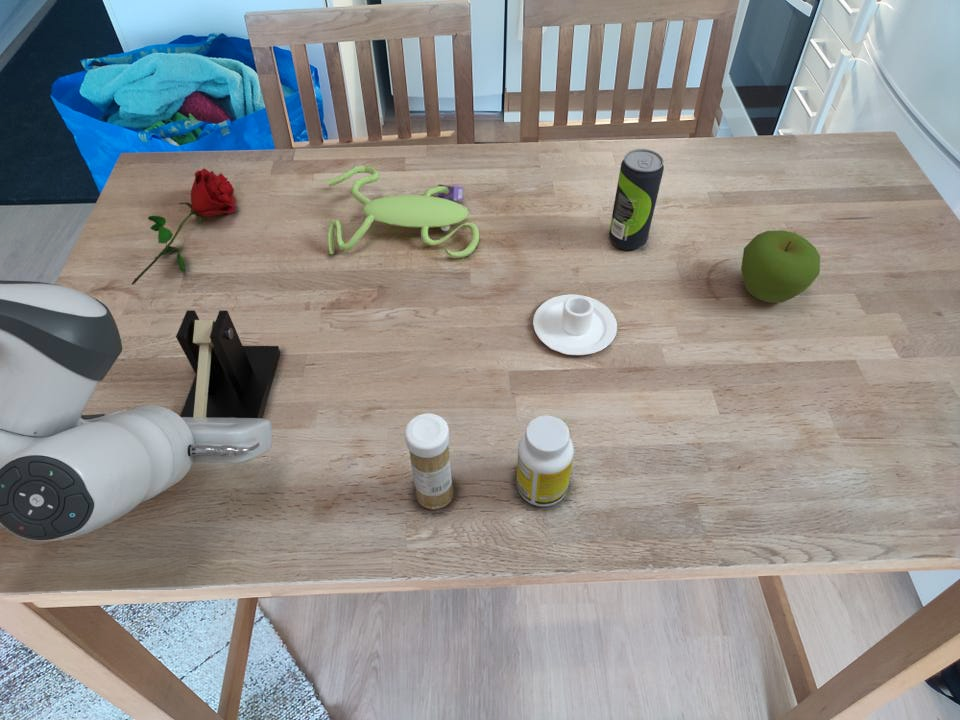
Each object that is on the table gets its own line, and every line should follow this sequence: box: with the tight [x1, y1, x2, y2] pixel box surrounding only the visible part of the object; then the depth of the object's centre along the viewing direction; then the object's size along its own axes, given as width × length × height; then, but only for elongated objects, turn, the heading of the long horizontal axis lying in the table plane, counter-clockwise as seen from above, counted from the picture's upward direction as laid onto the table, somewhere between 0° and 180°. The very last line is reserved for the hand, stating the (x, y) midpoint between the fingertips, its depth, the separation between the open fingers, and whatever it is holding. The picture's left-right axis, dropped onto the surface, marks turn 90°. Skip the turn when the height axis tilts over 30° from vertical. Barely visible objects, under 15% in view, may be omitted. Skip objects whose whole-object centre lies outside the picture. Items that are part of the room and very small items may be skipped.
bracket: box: [175, 309, 281, 418], centre depth 84 cm, size 13×10×13 cm
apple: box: [740, 230, 821, 304], centre depth 96 cm, size 11×10×10 cm
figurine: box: [327, 165, 480, 259], centre depth 109 cm, size 18×27×6 cm
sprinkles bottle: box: [404, 412, 455, 511], centre depth 73 cm, size 5×5×13 cm
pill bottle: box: [516, 414, 575, 508], centre depth 74 cm, size 6×6×11 cm
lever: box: [193, 319, 216, 418], centre depth 79 cm, size 13×5×2 cm, turn 179°
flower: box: [131, 168, 237, 286], centre depth 105 cm, size 9×9×30 cm
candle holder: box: [532, 293, 618, 356], centre depth 94 cm, size 12×12×4 cm
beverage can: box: [608, 148, 665, 251], centre depth 102 cm, size 6×6×15 cm
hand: (204, 423), depth 80 cm, fingers closed on lever, 5 cm apart
